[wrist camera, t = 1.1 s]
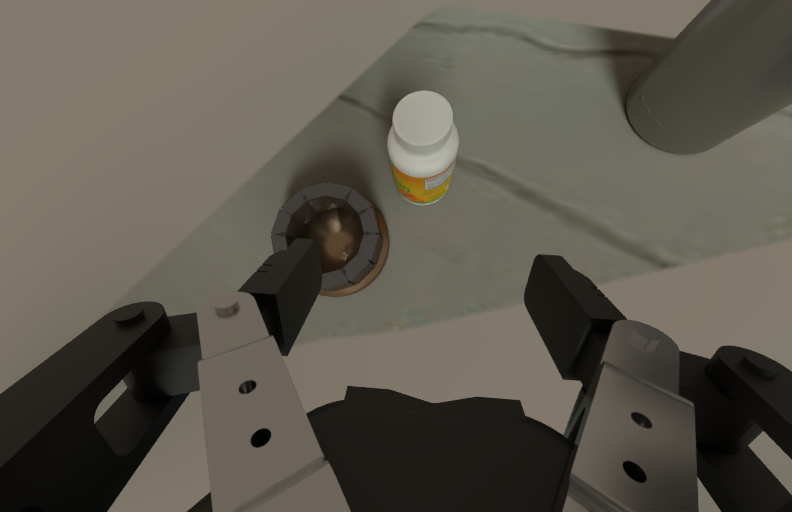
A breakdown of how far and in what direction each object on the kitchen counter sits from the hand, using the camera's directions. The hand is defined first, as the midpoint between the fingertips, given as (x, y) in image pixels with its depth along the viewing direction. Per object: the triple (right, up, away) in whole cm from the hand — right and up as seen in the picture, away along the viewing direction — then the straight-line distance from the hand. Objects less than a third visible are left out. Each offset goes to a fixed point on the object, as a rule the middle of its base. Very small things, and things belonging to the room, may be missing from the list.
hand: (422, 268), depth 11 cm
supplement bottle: (+2, +8, +18) cm, 20 cm away
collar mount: (-7, +2, +17) cm, 19 cm away
